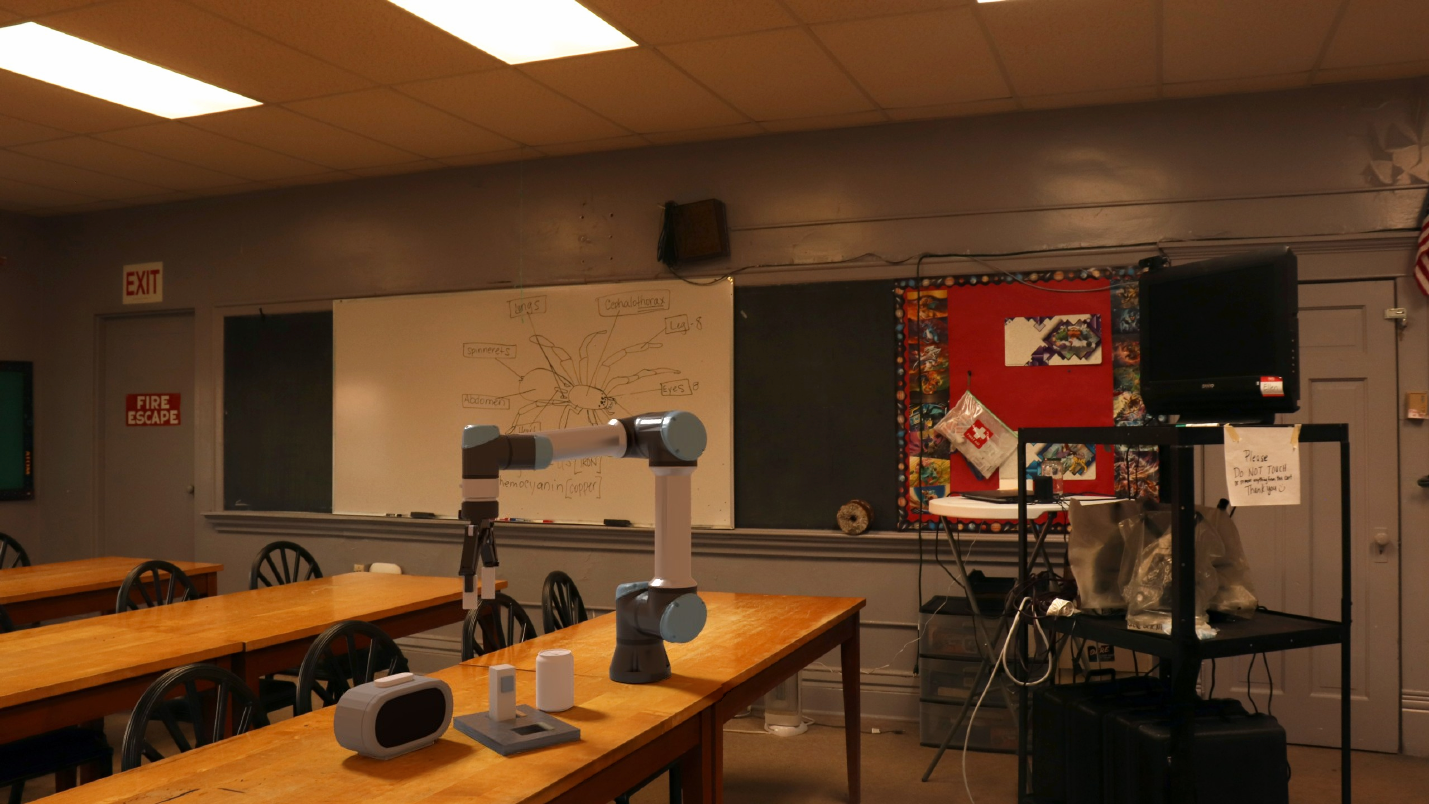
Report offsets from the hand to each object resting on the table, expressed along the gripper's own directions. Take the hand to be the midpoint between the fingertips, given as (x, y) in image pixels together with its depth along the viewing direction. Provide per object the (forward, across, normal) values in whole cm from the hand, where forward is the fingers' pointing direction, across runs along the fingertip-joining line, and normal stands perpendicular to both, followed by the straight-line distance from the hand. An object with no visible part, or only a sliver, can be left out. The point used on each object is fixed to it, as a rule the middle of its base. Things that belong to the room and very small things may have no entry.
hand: (479, 603), depth 203 cm
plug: (+25, +1, +5) cm, 25 cm away
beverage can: (+25, -13, +13) cm, 31 cm away
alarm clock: (+25, +15, -11) cm, 32 cm away
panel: (+24, +6, +9) cm, 27 cm away
